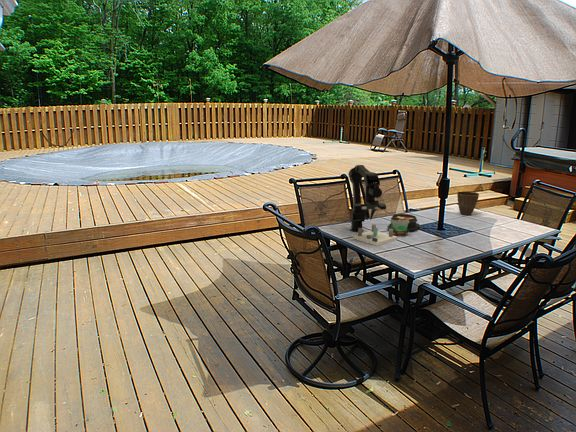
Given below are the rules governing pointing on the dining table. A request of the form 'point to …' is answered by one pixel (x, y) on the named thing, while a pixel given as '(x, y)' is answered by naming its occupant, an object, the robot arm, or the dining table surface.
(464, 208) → the plant pot
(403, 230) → the food container
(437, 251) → the dining table surface
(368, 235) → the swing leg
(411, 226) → the casserole
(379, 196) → the robot arm
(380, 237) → the cream square peg board
